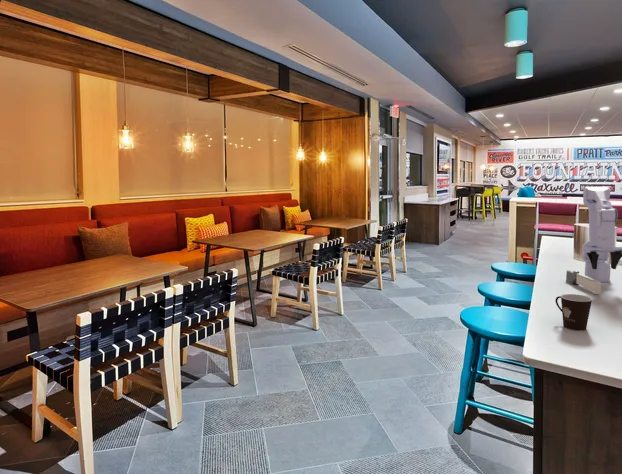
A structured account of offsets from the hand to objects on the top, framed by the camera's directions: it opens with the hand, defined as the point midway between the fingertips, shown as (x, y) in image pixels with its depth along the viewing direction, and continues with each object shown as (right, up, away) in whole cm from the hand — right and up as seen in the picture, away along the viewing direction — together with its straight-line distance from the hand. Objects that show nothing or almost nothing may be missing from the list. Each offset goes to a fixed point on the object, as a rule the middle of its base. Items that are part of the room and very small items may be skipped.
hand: (603, 268), depth 177 cm
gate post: (-4, -8, +15) cm, 17 cm away
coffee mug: (-38, -16, -39) cm, 56 cm away
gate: (-6, -9, +2) cm, 11 cm away
